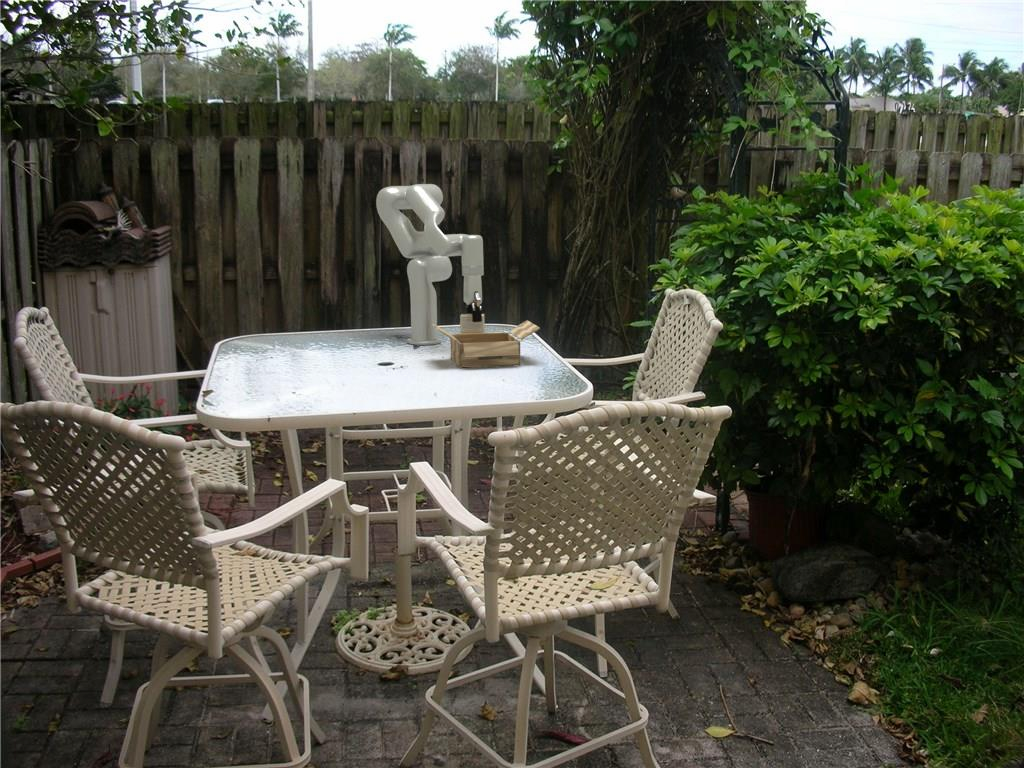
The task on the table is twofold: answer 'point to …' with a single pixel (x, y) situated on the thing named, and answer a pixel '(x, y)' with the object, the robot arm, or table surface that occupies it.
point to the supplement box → (471, 324)
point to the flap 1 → (444, 332)
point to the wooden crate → (461, 361)
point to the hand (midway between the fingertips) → (474, 320)
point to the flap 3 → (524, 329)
